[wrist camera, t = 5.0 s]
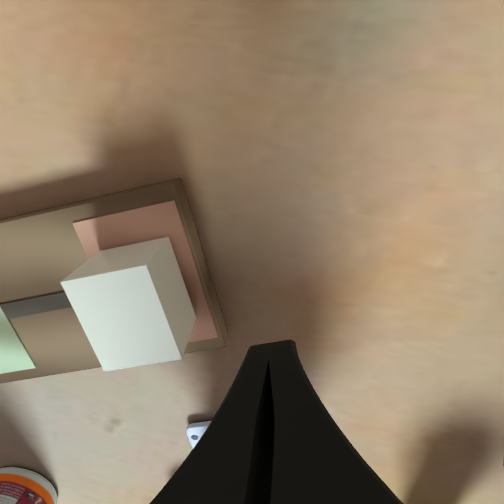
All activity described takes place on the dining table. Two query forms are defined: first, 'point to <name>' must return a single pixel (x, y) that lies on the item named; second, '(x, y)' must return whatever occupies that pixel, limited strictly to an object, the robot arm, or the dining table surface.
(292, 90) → the dining table surface
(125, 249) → the white block
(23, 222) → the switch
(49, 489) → the pill bottle
